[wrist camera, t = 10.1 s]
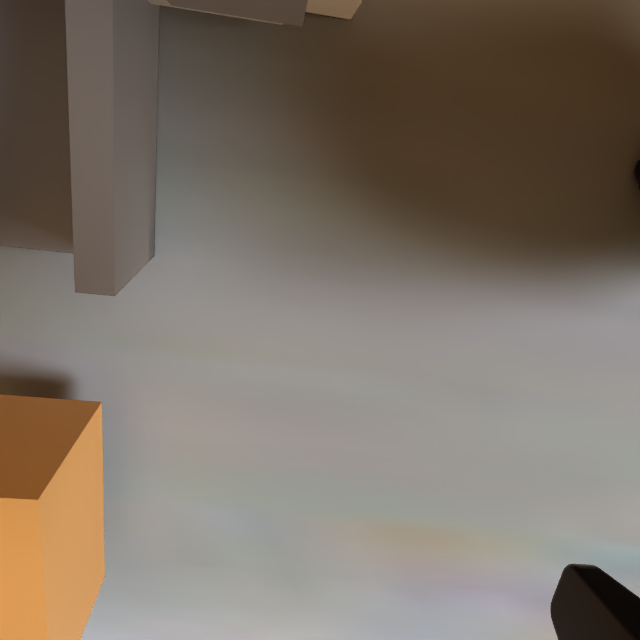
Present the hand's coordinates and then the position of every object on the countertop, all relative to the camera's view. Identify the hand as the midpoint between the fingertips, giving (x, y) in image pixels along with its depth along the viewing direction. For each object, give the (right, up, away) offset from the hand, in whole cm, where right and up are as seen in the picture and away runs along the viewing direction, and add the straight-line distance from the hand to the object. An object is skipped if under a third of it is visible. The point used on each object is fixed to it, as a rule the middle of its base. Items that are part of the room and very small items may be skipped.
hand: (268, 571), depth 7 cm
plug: (-10, -6, +13) cm, 17 cm away
